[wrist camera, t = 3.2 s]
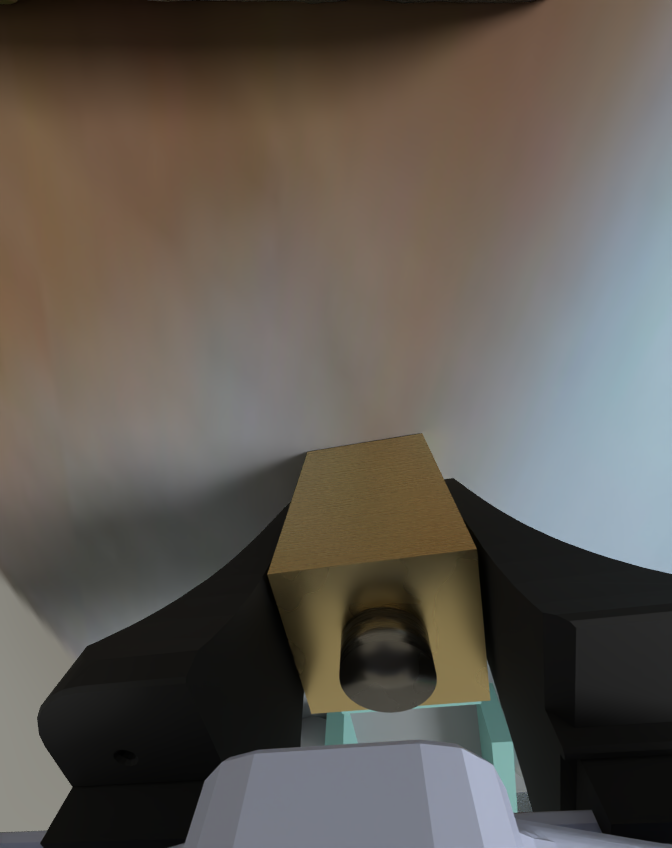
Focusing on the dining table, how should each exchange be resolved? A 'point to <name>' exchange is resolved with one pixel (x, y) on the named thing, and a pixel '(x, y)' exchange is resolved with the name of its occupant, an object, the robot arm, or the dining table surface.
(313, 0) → the juice carton
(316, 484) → the coupling block
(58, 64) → the dining table surface
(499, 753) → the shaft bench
